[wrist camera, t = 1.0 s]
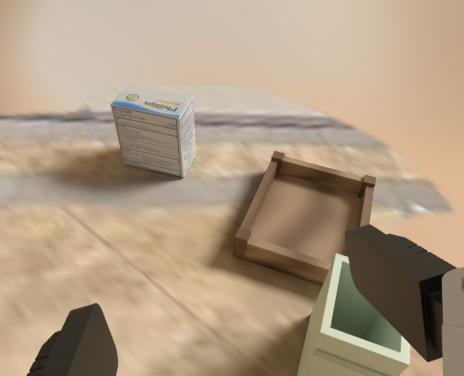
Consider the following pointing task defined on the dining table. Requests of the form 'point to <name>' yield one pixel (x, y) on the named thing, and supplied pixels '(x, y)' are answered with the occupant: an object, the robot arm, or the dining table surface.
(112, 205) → the dining table surface
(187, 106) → the medicine box
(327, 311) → the small square vase
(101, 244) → the dining table surface
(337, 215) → the walnut crate
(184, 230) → the dining table surface
